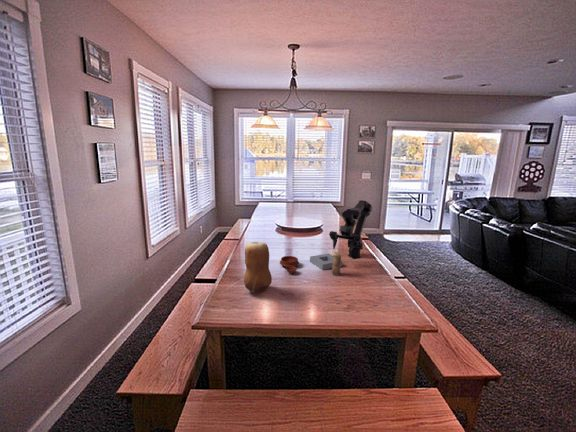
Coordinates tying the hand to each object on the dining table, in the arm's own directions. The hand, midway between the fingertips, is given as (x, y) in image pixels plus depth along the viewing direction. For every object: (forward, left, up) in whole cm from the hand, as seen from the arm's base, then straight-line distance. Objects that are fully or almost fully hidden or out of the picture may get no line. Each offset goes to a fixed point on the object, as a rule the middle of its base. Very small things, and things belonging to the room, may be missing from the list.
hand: (341, 250), depth 169 cm
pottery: (+25, -15, -13) cm, 32 cm away
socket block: (+2, -12, -13) cm, 17 cm away
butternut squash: (+53, +4, -13) cm, 54 cm away
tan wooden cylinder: (+5, +3, -13) cm, 14 cm away
